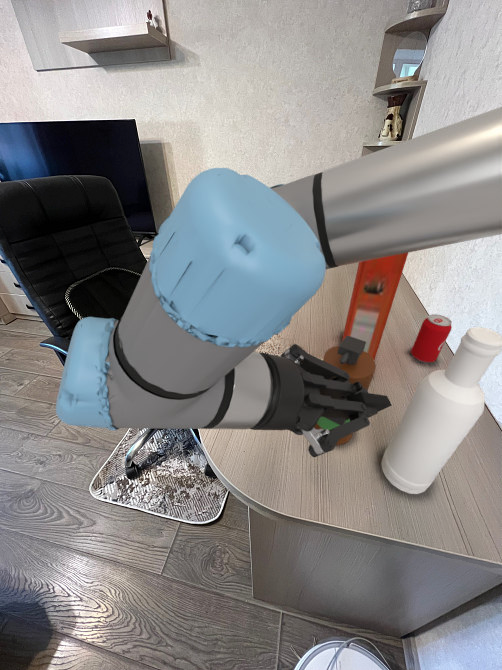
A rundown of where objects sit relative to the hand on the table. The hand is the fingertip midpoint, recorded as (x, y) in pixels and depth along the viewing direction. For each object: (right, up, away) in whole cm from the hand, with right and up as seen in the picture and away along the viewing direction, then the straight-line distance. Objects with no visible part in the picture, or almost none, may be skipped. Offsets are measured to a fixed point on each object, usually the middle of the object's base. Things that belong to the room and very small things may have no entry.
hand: (381, 404), depth 40 cm
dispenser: (-2, -9, +17) cm, 19 cm away
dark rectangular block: (-6, -3, +7) cm, 10 cm away
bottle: (+8, -15, +9) cm, 19 cm away
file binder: (+10, +5, +37) cm, 39 cm away
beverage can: (+28, +4, +35) cm, 45 cm away
